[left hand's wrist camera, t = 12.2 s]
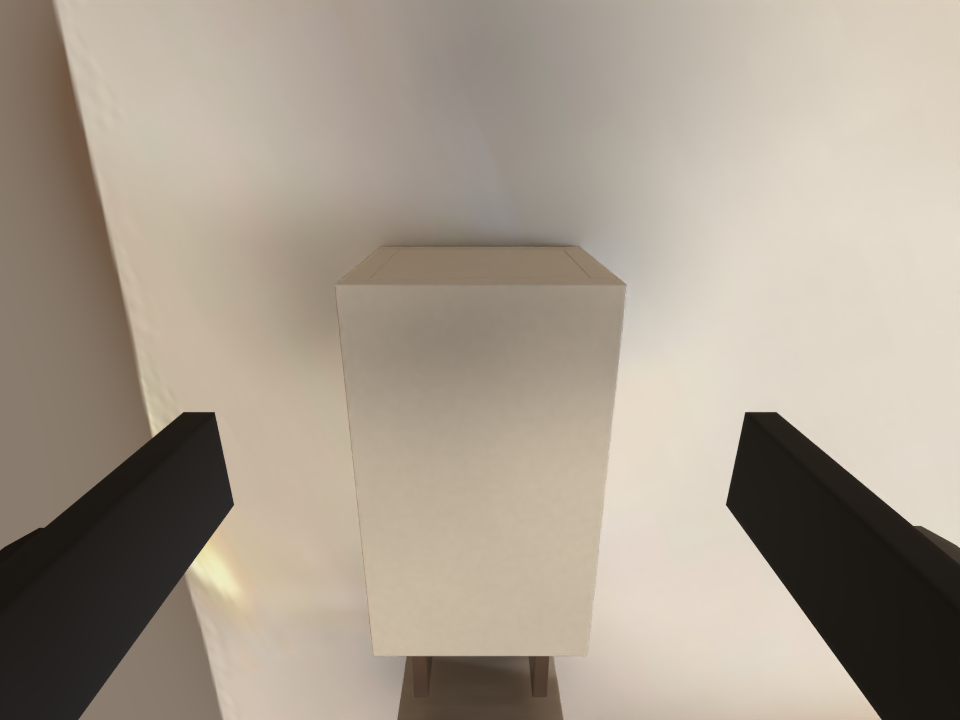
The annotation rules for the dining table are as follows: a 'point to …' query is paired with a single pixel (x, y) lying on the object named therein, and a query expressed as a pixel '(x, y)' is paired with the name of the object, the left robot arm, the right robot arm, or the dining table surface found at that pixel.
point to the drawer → (480, 688)
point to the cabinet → (480, 443)
